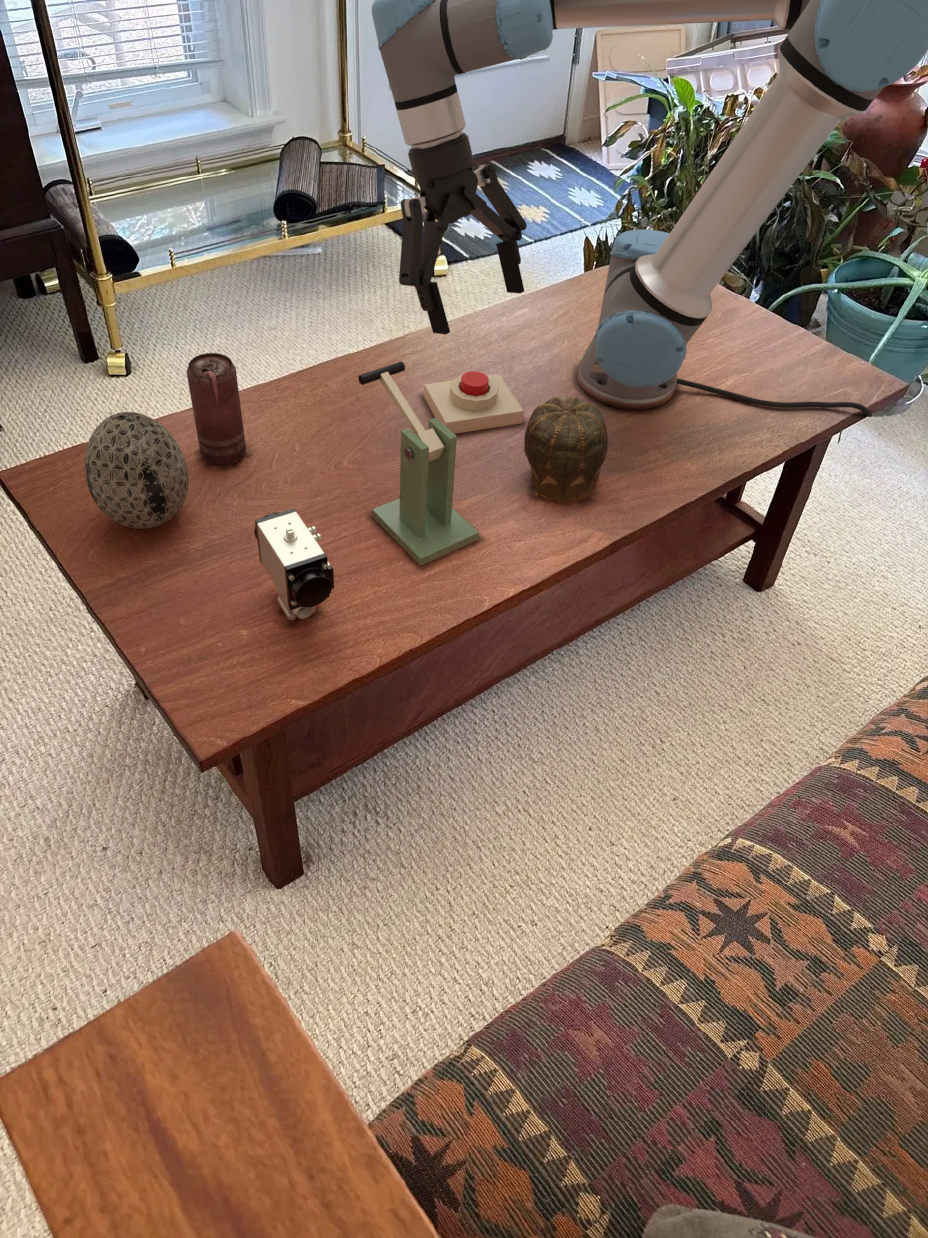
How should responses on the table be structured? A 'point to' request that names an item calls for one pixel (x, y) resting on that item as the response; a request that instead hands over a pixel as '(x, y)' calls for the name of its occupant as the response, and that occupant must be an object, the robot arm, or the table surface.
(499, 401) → the control box
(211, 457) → the can
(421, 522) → the bracket
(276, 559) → the pneumatic valve
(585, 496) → the dark green ribbed dome
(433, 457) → the lever
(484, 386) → the button
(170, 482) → the decorative egg
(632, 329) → the robot arm
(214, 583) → the table surface
